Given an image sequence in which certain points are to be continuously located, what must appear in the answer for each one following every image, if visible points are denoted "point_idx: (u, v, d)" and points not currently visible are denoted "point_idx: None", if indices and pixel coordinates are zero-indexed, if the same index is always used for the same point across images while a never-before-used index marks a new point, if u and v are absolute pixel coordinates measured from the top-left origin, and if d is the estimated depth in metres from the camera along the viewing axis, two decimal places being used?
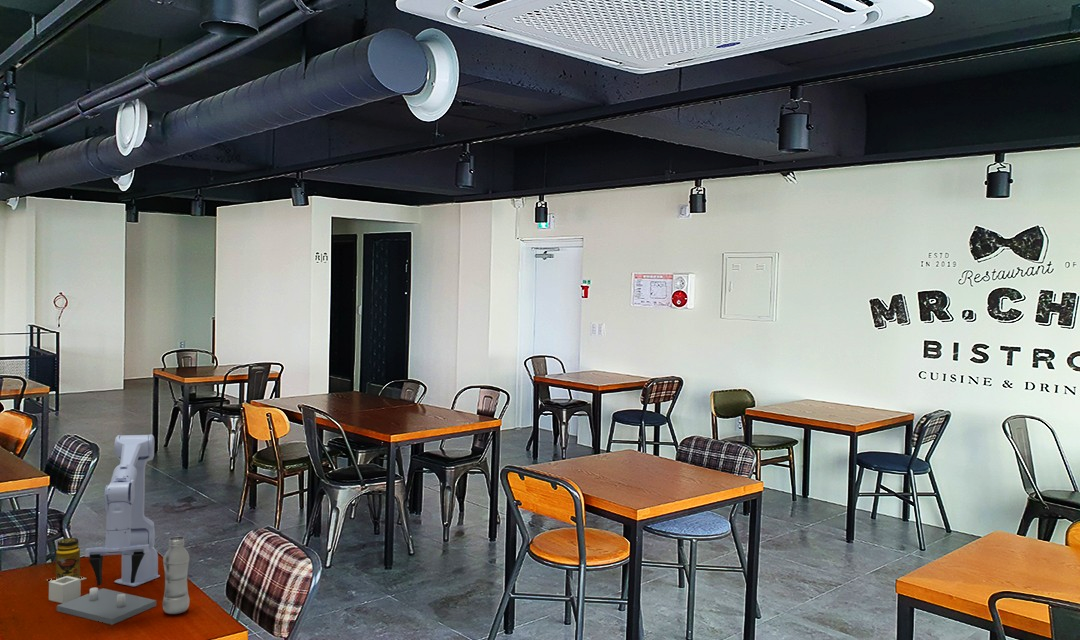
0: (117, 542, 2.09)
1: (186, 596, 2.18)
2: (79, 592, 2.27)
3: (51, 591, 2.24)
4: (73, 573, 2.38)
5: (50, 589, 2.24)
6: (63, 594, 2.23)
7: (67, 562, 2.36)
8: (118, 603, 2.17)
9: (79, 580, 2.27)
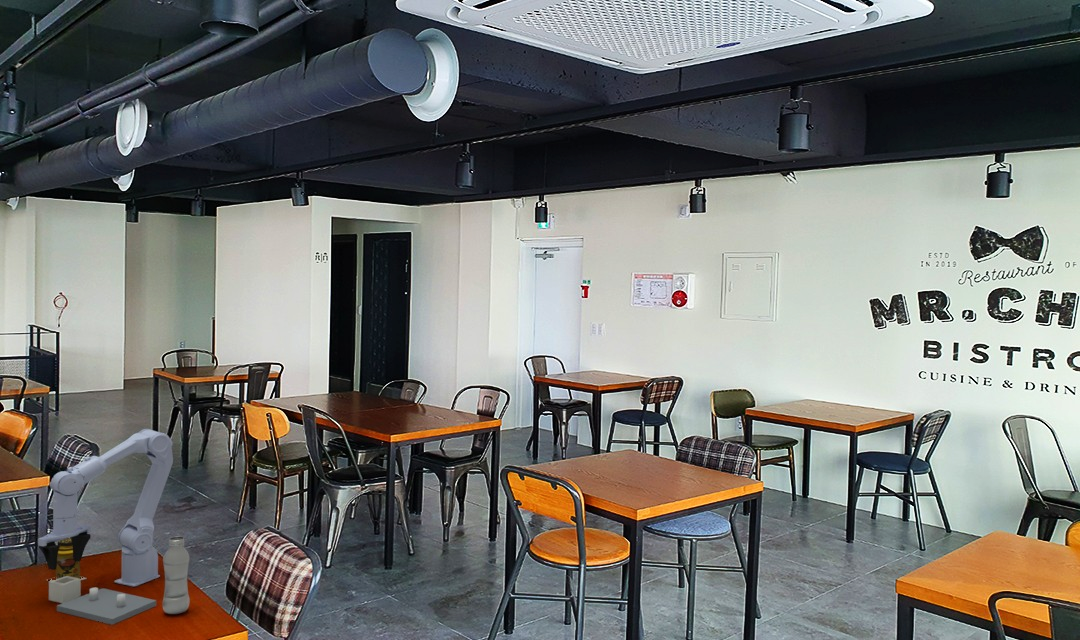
0: None
1: (186, 596, 2.18)
2: (79, 592, 2.27)
3: (51, 591, 2.24)
4: (73, 573, 2.38)
5: (50, 589, 2.24)
6: (63, 594, 2.23)
7: (67, 562, 2.36)
8: (118, 603, 2.17)
9: (79, 580, 2.27)
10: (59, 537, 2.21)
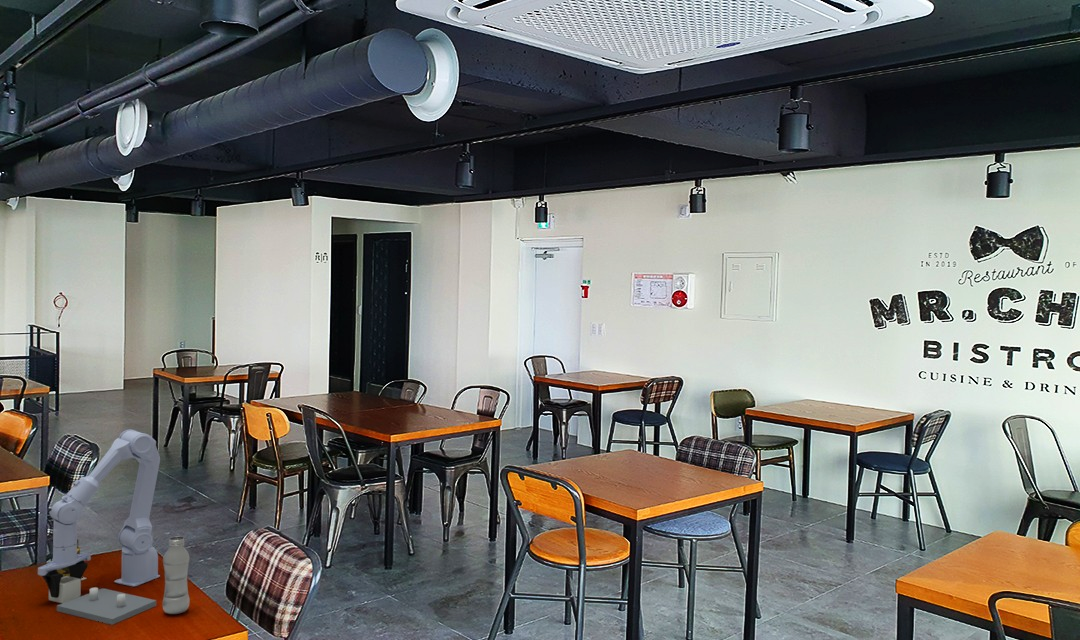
0: None
1: (186, 596, 2.18)
2: (79, 592, 2.27)
3: None
4: None
5: None
6: (63, 594, 2.23)
7: None
8: (118, 603, 2.17)
9: (79, 580, 2.27)
10: (59, 566, 2.22)
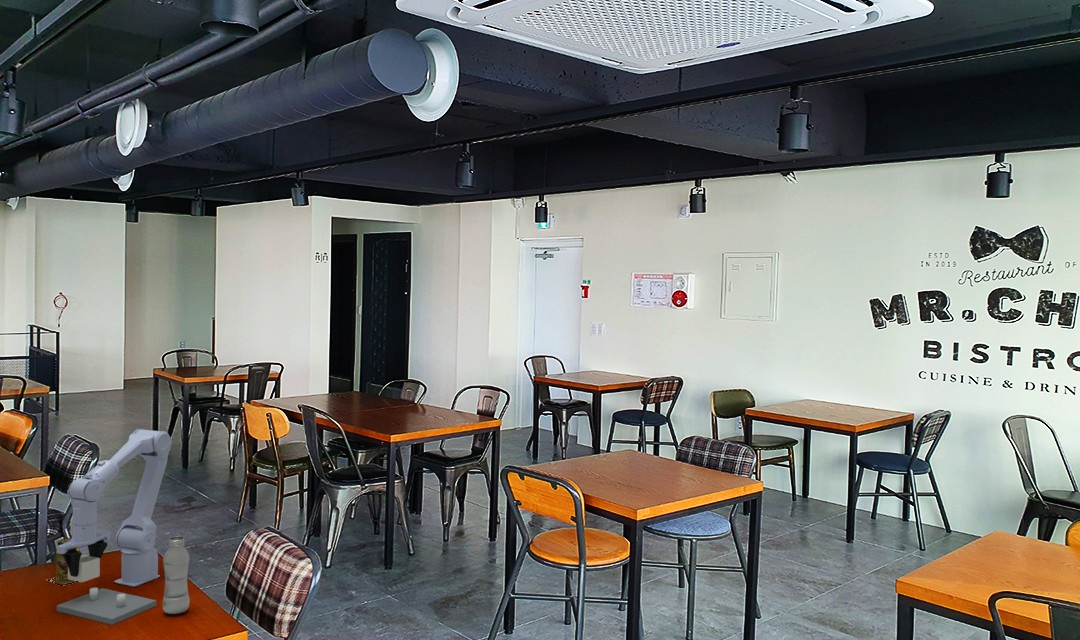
0: None
1: (186, 596, 2.18)
2: (98, 572, 2.24)
3: None
4: None
5: None
6: (82, 573, 2.20)
7: None
8: (118, 603, 2.17)
9: (98, 559, 2.24)
10: (78, 545, 2.19)
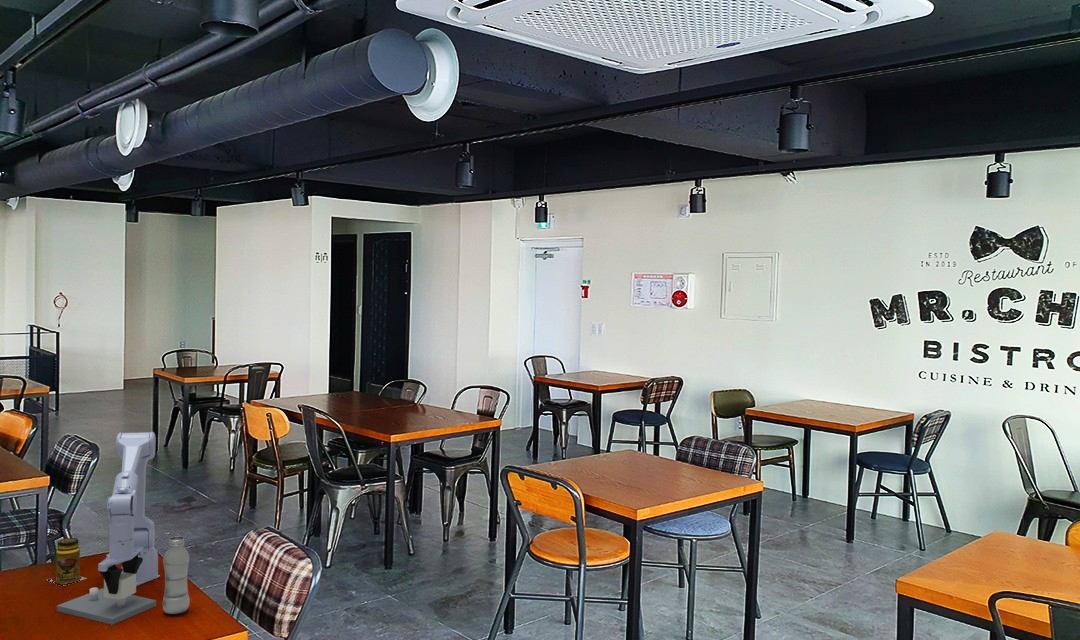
0: None
1: (186, 596, 2.18)
2: (134, 588, 2.20)
3: (107, 588, 2.16)
4: (73, 573, 2.38)
5: (106, 586, 2.16)
6: (122, 590, 2.15)
7: (67, 562, 2.36)
8: (118, 603, 2.17)
9: (135, 575, 2.20)
10: (119, 561, 2.14)
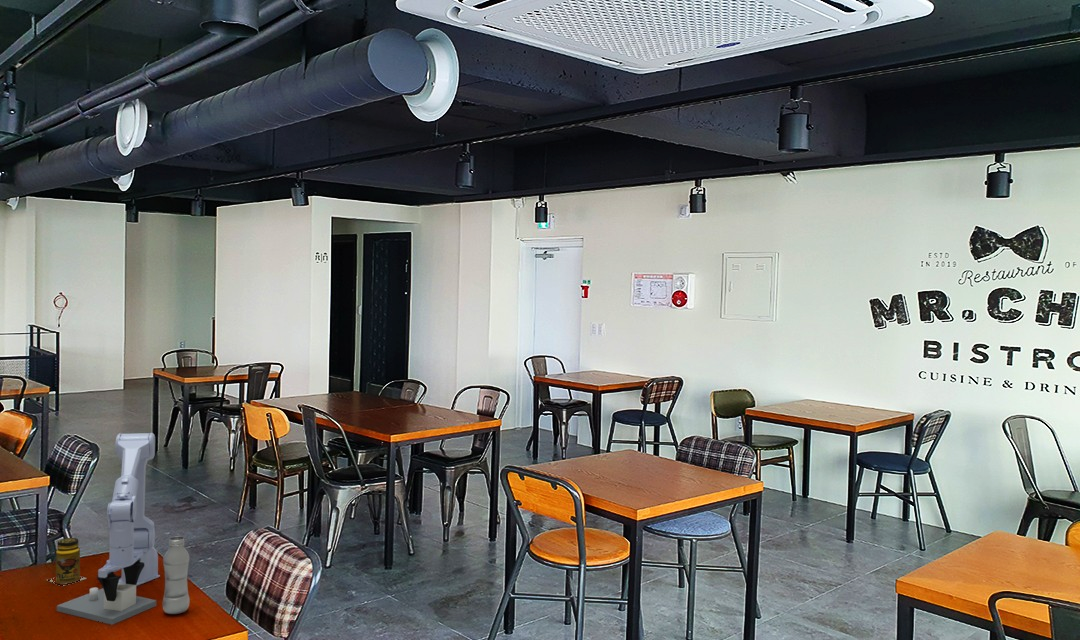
0: None
1: (186, 596, 2.18)
2: (134, 599, 2.20)
3: None
4: (73, 573, 2.38)
5: None
6: (122, 601, 2.15)
7: (67, 562, 2.36)
8: None
9: (135, 586, 2.20)
10: (119, 567, 2.14)
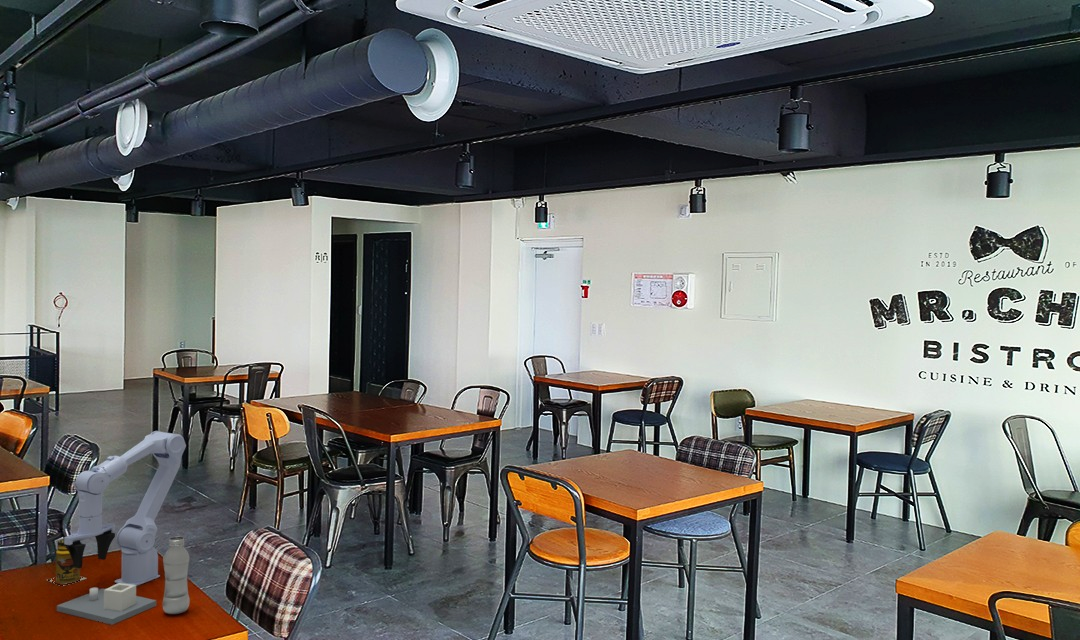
0: None
1: (186, 596, 2.18)
2: (134, 599, 2.20)
3: (107, 599, 2.16)
4: (73, 573, 2.38)
5: (106, 597, 2.16)
6: (122, 601, 2.15)
7: (67, 562, 2.36)
8: None
9: (135, 586, 2.20)
10: (85, 536, 2.23)
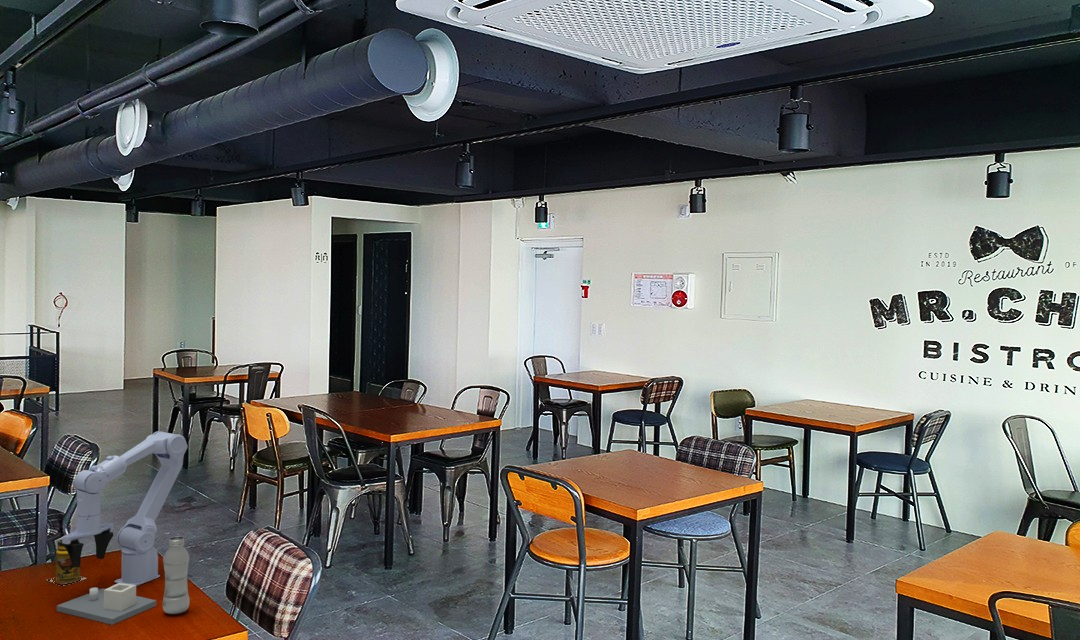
0: None
1: (186, 596, 2.18)
2: (134, 599, 2.20)
3: (107, 599, 2.16)
4: (73, 573, 2.38)
5: (106, 597, 2.16)
6: (122, 601, 2.15)
7: (67, 562, 2.36)
8: None
9: (135, 586, 2.20)
10: (83, 535, 2.24)
